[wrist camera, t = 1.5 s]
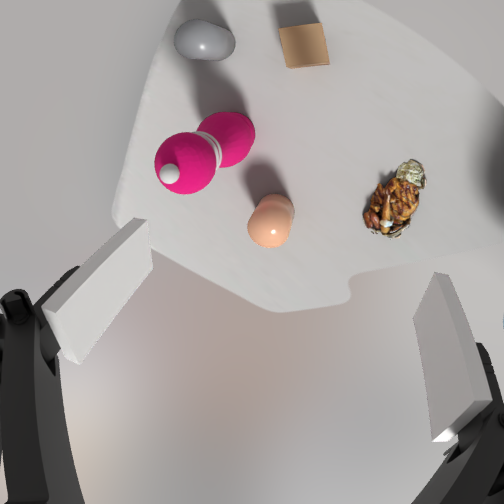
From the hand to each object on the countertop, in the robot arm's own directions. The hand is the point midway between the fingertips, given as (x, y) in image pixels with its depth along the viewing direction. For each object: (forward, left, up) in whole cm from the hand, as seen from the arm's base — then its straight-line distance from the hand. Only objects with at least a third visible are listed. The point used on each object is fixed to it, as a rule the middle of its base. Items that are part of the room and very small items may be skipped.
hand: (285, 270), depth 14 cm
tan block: (+3, -12, -31) cm, 34 cm away
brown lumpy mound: (-12, +6, -32) cm, 35 cm away
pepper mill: (+12, +1, -32) cm, 34 cm away
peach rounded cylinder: (+5, +12, -31) cm, 34 cm away
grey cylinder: (+15, -12, -31) cm, 37 cm away
